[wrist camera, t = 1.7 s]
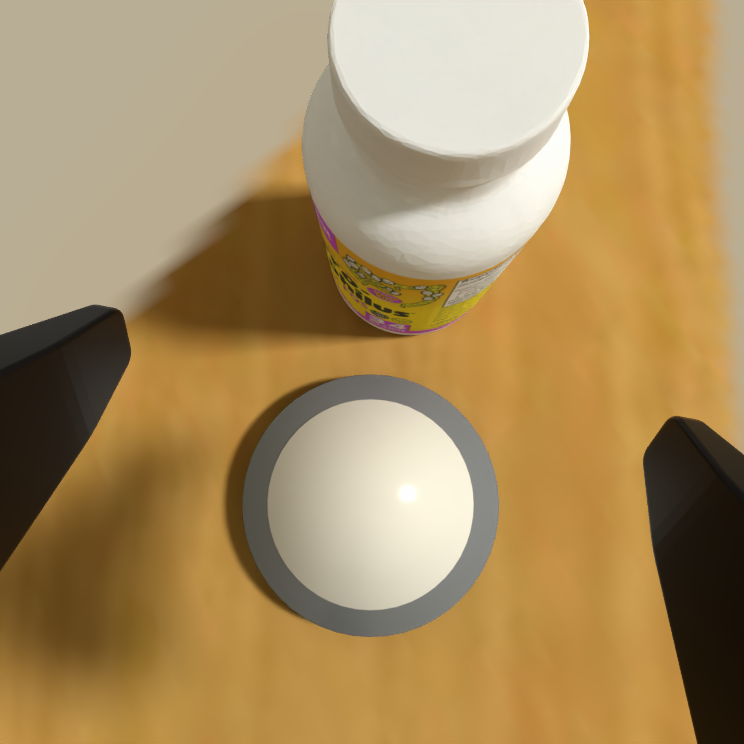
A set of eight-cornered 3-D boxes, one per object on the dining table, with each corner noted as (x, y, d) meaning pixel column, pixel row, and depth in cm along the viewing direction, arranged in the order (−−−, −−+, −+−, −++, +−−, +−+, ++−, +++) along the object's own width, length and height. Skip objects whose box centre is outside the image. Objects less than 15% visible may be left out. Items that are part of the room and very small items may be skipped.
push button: (459, 657, 20) (464, 670, 19) (218, 586, 20) (209, 596, 19) (518, 412, 21) (525, 411, 20) (288, 350, 21) (283, 346, 20)
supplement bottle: (302, 246, 22) (195, -14, 9) (425, 161, 22) (492, -205, 9) (392, 370, 21) (417, 284, 8) (517, 281, 21) (726, 66, 9)
